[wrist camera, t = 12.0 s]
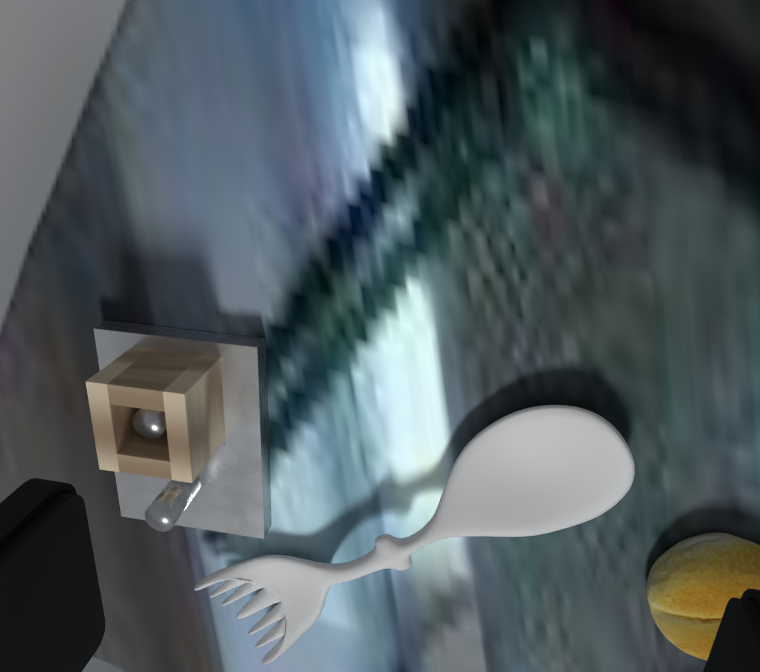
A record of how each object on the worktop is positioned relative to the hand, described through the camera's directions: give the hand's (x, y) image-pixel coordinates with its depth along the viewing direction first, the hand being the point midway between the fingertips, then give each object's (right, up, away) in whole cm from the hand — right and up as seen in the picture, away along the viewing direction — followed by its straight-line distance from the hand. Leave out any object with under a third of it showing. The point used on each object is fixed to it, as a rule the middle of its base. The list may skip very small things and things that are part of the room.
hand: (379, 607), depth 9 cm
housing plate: (-13, -2, +35) cm, 37 cm away
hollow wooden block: (-13, 0, +32) cm, 35 cm away
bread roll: (+22, -12, +33) cm, 41 cm away
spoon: (+2, -9, +35) cm, 36 cm away
